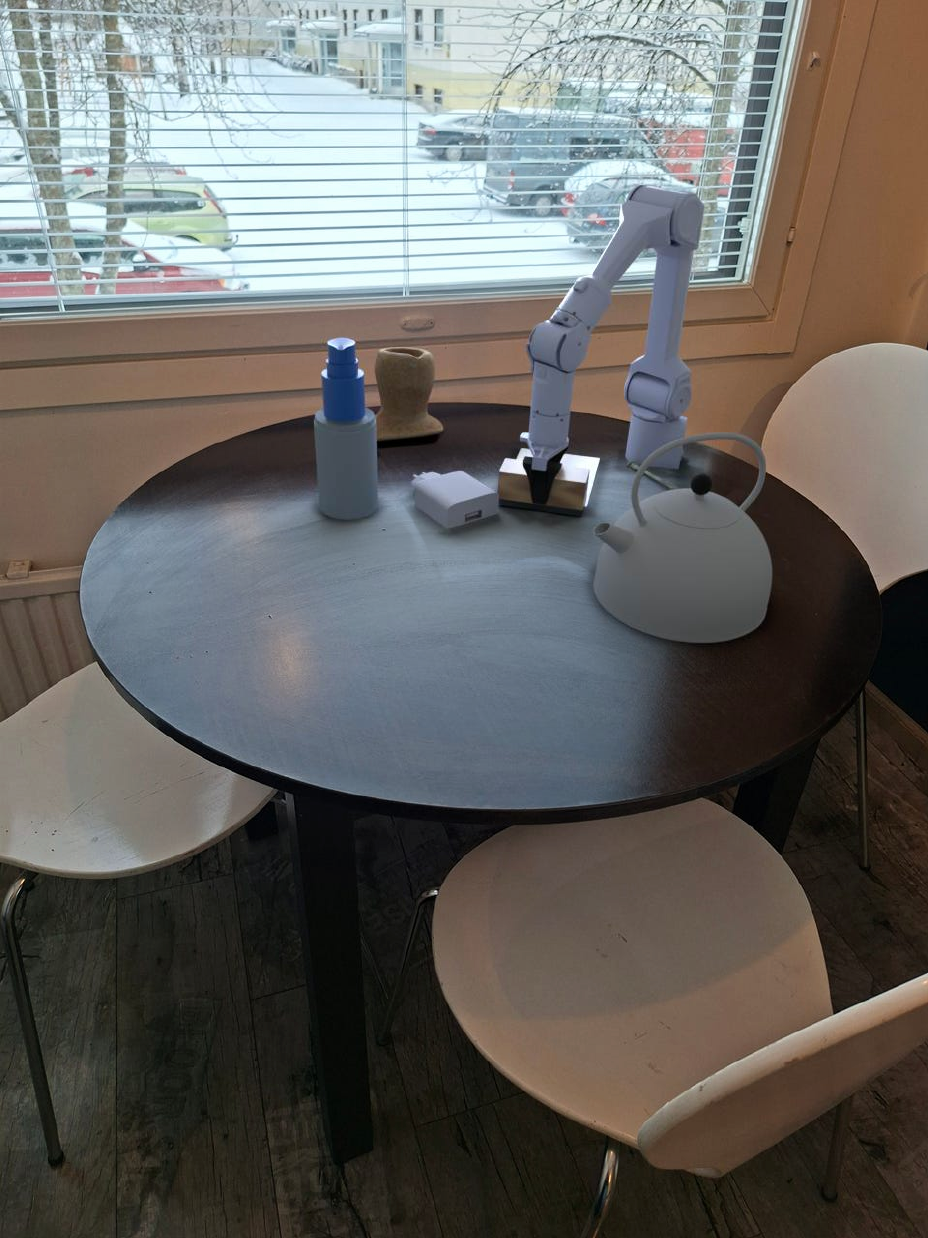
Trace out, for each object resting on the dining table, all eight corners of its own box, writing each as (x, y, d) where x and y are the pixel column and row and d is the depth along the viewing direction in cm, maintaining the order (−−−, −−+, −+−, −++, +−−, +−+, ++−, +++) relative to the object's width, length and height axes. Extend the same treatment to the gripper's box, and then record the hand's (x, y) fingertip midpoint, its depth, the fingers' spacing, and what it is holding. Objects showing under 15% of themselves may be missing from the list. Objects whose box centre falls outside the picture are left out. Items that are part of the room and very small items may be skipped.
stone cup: (427, 416, 164) (428, 336, 155) (449, 441, 155) (451, 357, 146) (348, 425, 159) (345, 342, 150) (366, 451, 150) (364, 365, 141)
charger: (442, 481, 141) (497, 519, 131) (393, 494, 137) (447, 535, 127) (442, 454, 139) (499, 490, 129) (393, 467, 134) (447, 505, 124)
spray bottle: (327, 490, 137) (317, 329, 123) (383, 494, 137) (379, 333, 123) (313, 517, 130) (301, 349, 116) (372, 521, 129) (367, 354, 115)
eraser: (585, 501, 134) (589, 468, 131) (581, 516, 130) (585, 483, 127) (503, 490, 137) (505, 457, 134) (496, 504, 133) (498, 471, 129)
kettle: (618, 656, 104) (648, 484, 91) (553, 560, 122) (570, 405, 109) (801, 630, 110) (853, 465, 97) (713, 542, 128) (747, 393, 115)
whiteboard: (603, 462, 150) (604, 457, 149) (590, 515, 134) (590, 509, 133) (517, 451, 152) (518, 445, 152) (494, 501, 136) (494, 495, 136)
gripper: (531, 388, 132) (524, 471, 139) (513, 424, 120) (507, 512, 128) (578, 394, 130) (568, 477, 138) (564, 430, 119) (555, 519, 126)
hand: (542, 494), depth 133 cm, fingers closed on eraser, 5 cm apart
